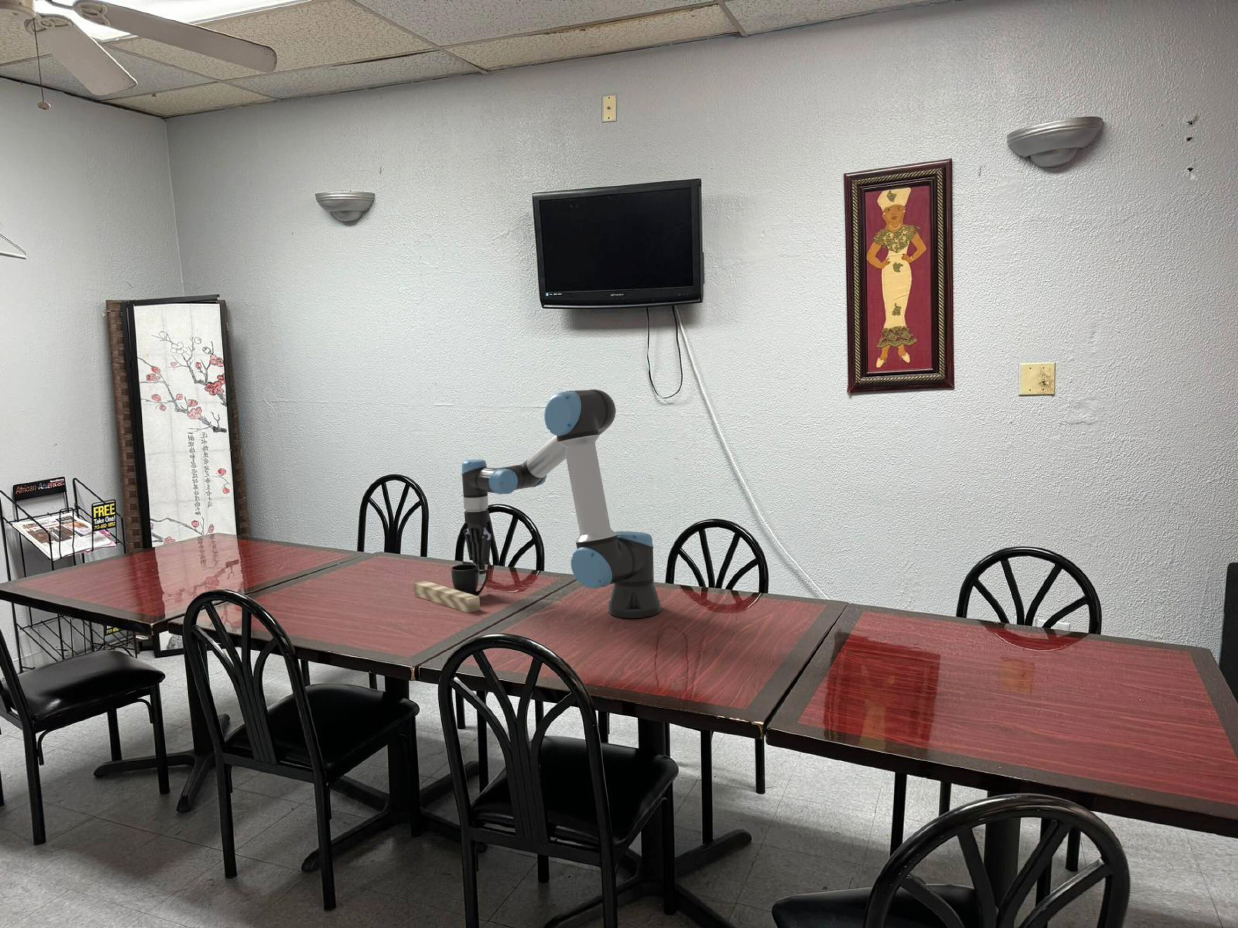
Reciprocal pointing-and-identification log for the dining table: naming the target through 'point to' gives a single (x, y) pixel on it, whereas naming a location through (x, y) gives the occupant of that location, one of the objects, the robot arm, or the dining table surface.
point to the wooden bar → (447, 596)
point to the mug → (467, 578)
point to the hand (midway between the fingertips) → (480, 583)
